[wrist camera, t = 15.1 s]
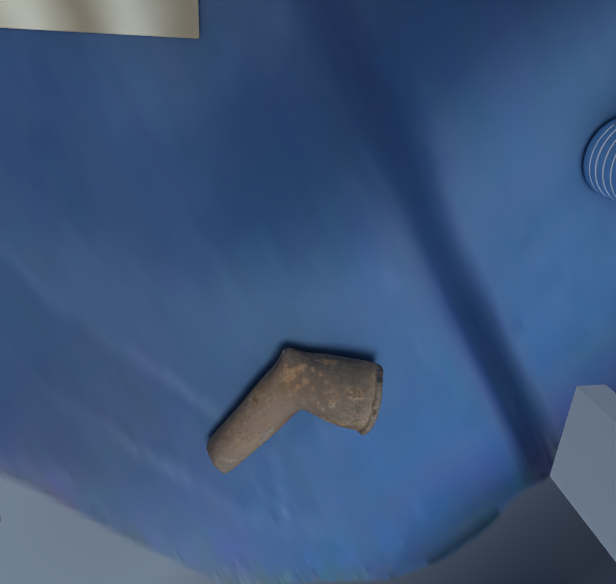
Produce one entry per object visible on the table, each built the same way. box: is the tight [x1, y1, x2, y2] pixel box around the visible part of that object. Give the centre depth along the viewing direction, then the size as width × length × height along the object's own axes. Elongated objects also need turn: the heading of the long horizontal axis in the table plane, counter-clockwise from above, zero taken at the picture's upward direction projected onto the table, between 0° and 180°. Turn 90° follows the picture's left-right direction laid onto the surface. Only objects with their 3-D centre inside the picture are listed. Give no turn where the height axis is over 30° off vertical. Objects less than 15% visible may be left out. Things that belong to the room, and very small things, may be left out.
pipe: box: [207, 347, 383, 473], centre depth 49 cm, size 6×17×10 cm
